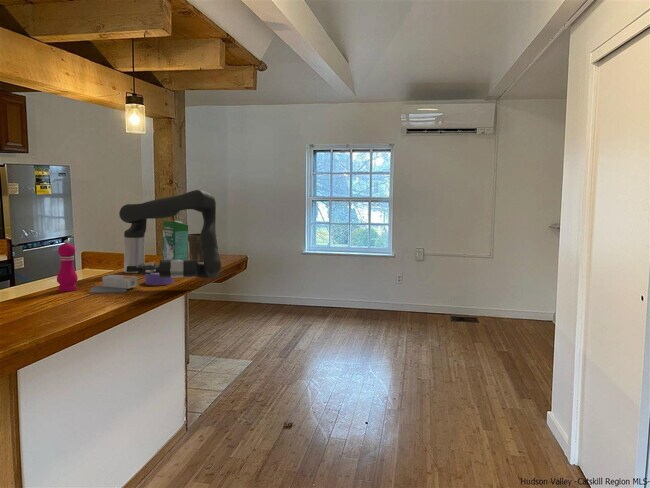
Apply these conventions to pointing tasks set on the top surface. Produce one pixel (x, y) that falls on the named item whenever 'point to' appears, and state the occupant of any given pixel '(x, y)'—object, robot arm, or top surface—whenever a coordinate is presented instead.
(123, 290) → the mat
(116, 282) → the skincare box
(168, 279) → the tape roll
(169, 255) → the milk carton
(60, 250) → the pepper mill
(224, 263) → the top surface
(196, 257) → the plant pot
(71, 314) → the top surface
